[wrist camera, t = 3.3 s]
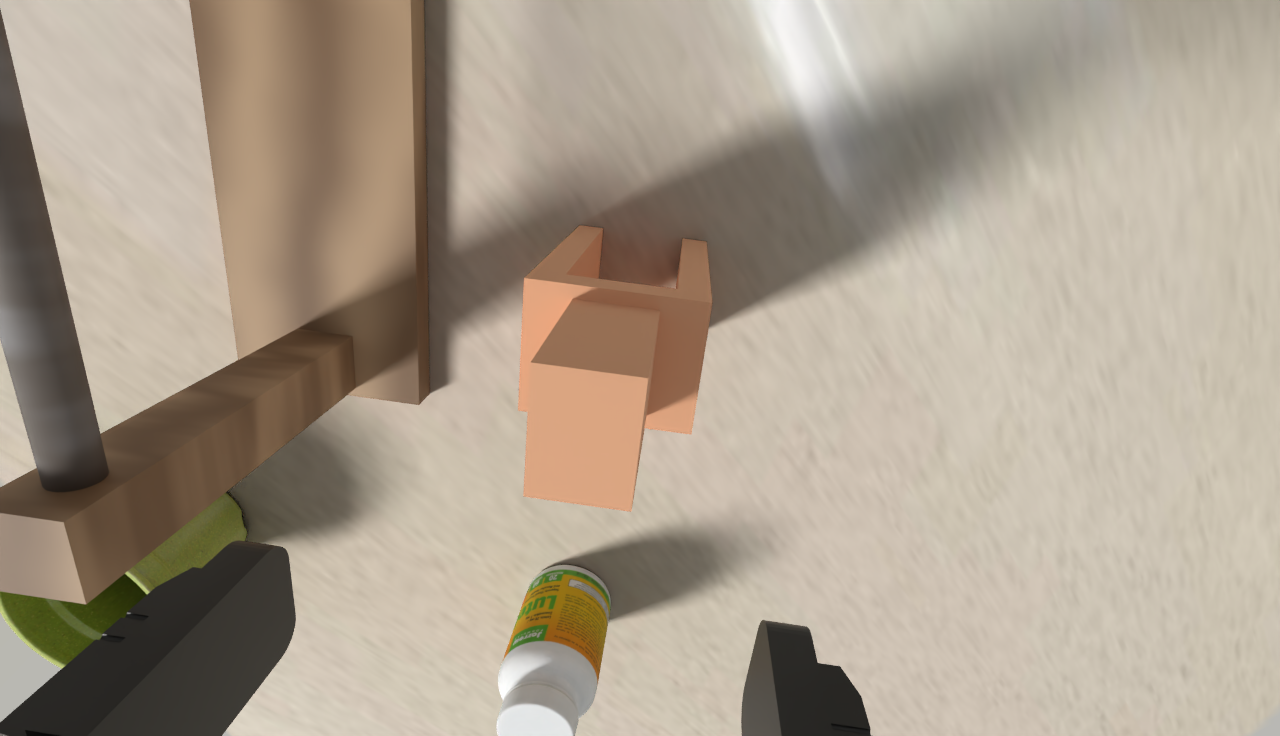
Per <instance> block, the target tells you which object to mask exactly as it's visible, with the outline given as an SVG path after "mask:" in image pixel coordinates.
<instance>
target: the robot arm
mask: <svg viewBox="0 0 1280 736" xmlns="http://www.w3.org/2000/svg"><path fill="white" fill-rule="evenodd" d="M295 621H296V615H295V606H294V598H293V589H292V581H291V572H290V564H289V556H288V553H287V551H286V549H285V548H283V547H280V546H274V545H267V544H260V543H253V542H247V541H240V540H238V541H233V542H231V543H229V544H228V545H227V546H225V547H224V548H223V549H222V550H221V551H220V552H219V553H218V554H217V555H216V556H214V557H213V558H212V559H211V560H210V561H209V562H208V563H207V564H206V565H205V566H203V567H202V568H197V567H192V568H190V569H189V570H187V571H185V572H183V573H181V574H179V575H177V576H175V577H174V578H172V579H170V580H168V581H166V582H164V583H162V584H160V585H159V586H157V587H155V588H154V589H153V590H152V591H151V592H150V593H148V594H147V595H146V596H145V597H144V598H143V599H142V600H140V601H139V602H138V603H137V604H136V605H135V606H134V607H132V608H131V609H130V610H129V611H128V612H127V615H126V617H125V618H120V619H119V620H117V621H116V622H115V623H114V624H113V625H112V626H111V627H109V628H108V629H107V630H106V631H105V632H104V633H103V634H102V637H101V639H100V640H94V641H93V642H92V643H91V644H90V645H89V646H88V647H86V648H85V649H84V650H83V651H82V652H81V653H80V654H78V655H77V656H76V657H75V658H74V659H73V660H71V661H70V662H69V663H68V664H67V665H66V666H65V667H63V668H62V669H61V670H60V671H59V672H58V673H57V674H55V675H54V676H53V677H52V678H51V679H50V680H49V681H48V682H46V683H45V684H44V685H43V686H42V687H40V688H39V689H38V690H37V691H36V692H35V693H34V694H32V695H31V696H30V697H29V698H28V699H27V700H26V701H24V702H23V703H22V704H21V705H20V706H19V707H18V708H16V709H15V710H14V711H13V712H12V713H11V714H9V715H8V716H7V717H6V718H5V719H4V720H3V721H2V722H0V736H222V735H223V733H224V732H225V731H226V729H227V728H228V727H229V725H230V724H231V723H232V722H233V720H234V719H235V718H236V716H237V715H238V714H239V712H240V711H241V710H242V708H243V707H244V706H245V705H246V703H247V702H248V701H249V699H250V698H251V697H252V695H253V694H254V693H255V692H256V690H257V689H258V688H259V686H260V685H261V684H262V682H263V681H264V680H265V678H266V677H267V676H268V675H269V673H270V672H271V671H272V669H273V668H274V667H275V665H276V664H277V663H278V662H279V660H280V659H281V658H282V656H283V655H284V653H285V651H286V650H287V648H288V646H289V643H290V641H291V639H292V635H293V632H294V628H295ZM741 723H742V736H871V735H870V726H869V722H868V719H867V715H866V712H865V708H864V705H863V701H862V698H861V696H860V694H859V693H858V691H857V690H856V688H855V687H854V686H853V684H852V683H851V681H850V680H849V679H848V677H847V676H846V674H845V673H844V671H843V670H842V669H841V667H840V666H833V665H827V664H820V663H817V658H816V654H815V649H814V645H813V640H812V636H811V632H810V630H809V628H808V627H805V626H799V625H792V624H785V623H778V622H772V621H765V620H762V621H761V623H760V625H759V628H758V632H757V636H756V641H755V645H754V649H753V653H752V657H751V661H750V666H749V670H748V674H747V678H746V682H745V687H744V693H743V701H742V719H741Z"/></svg>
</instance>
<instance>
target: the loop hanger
mask: <svg viewBox="0 0 1280 736" xmlns="http://www.w3.org/2000/svg"><path fill="white" fill-rule="evenodd" d="M602 237H603V228H598V227H590V226H582V225H579V226H578V227H577V228H576V229H575V230H574V231H573V232H572V233H571V234H570V235H569V236H568V237H567V238H566V239H565V240H564V241H562V242H561V243H560V244H559V245H558V246H557V247H556V248H555V249H554V250H553V251H552V252H551V253H550V254H549V255H548V256H547V257H546V258H545V259H544V260H542V261H541V262H540V263H539V264H538V265H537V266H536V267H535V268H534V269H533V270H532V271H531V272H530V273H529V274H528V275H527V276H526V277H525V278H524V290H523V313H522V335H521V357H520V380H519V402H518V411H525V412H528V418H527V438H526V457H525V477H524V497H531V498H538V499H545V500H553V501H560V502H567V503H574V504H581V505H588V506H595V507H602V508H609V509H616V510H623V511H630V512H631V510H632V504H633V498H634V491H635V485H636V479H637V473H638V466H639V460H640V454H641V447H642V441H643V435H644V429H645V428H648V429H655V430H662V431H670V432H677V433H684V434H691V433H692V427H693V420H694V414H695V408H696V402H697V396H698V390H699V383H700V377H701V371H702V365H703V359H704V352H705V346H706V340H707V334H708V328H709V322H710V315H711V309H712V303H713V302H712V292H711V282H710V272H709V261H708V251H707V241H699V240H691V239H684V238H683V239H682V247H681V254H680V261H679V268H678V276H677V283H676V289H674V288H666V287H659V286H651V285H643V284H636V283H628V282H620V281H613V280H605V279H599V271H600V260H601V248H602Z"/></svg>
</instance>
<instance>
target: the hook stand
mask: <svg viewBox="0 0 1280 736" xmlns="http://www.w3.org/2000/svg"><path fill="white" fill-rule="evenodd" d="M189 1H190V8H191V16H192V23H193V30H194V38H195V45H196V53H197V60H198V67H199V75H200V82H201V89H202V97H203V104H204V111H205V119H206V126H207V134H208V141H209V148H210V156H211V163H212V170H213V178H214V185H215V192H216V200H217V207H218V215H219V222H220V229H221V237H222V244H223V251H224V259H225V266H226V273H227V281H228V288H229V296H230V303H231V310H232V318H233V325H234V332H235V340H236V347H237V354H238V361H236V362H234V363H232V364H230V365H228V366H226V367H225V368H223V369H221V370H219V371H217V372H215V373H213V374H211V375H210V376H208V377H206V378H204V379H202V380H200V381H198V382H197V383H195V384H193V385H191V386H189V387H187V388H185V389H183V390H182V391H180V392H178V393H176V394H174V395H172V396H170V397H168V398H167V399H165V400H163V401H161V402H159V403H157V404H155V405H154V406H152V407H150V408H148V409H146V410H144V411H142V412H140V413H139V414H137V415H135V416H133V417H131V418H129V419H127V420H126V421H124V422H122V423H120V424H118V425H116V426H114V427H112V428H111V429H109V430H107V431H105V432H103V433H101V434H100V431H99V427H98V422H97V418H96V414H95V410H94V405H93V401H92V397H91V393H90V388H89V384H88V380H87V376H86V371H85V367H84V363H83V359H82V354H81V350H80V346H79V342H78V337H77V333H76V329H75V325H74V320H73V316H72V312H71V308H70V303H69V299H68V295H67V291H66V286H65V282H64V278H63V274H62V269H61V265H60V261H59V257H58V252H57V248H56V244H55V240H54V235H53V231H52V227H51V223H50V218H49V214H48V210H47V206H46V201H45V197H44V193H43V189H42V184H41V180H40V176H39V172H38V167H37V163H36V159H35V155H34V150H33V146H32V142H31V138H30V133H29V129H28V125H27V121H26V116H25V112H24V108H23V104H22V99H21V95H20V91H19V87H18V82H17V78H16V74H15V70H14V65H13V61H12V57H11V53H10V48H9V44H8V40H7V36H6V31H5V27H4V23H3V19H2V14H1V10H0V340H1V343H2V347H3V350H4V354H5V357H6V361H7V364H8V368H9V371H10V375H11V378H12V382H13V385H14V389H15V393H16V396H17V400H18V403H19V407H20V410H21V414H22V417H23V421H24V424H25V428H26V431H27V435H28V438H29V442H30V445H31V449H32V452H33V456H34V459H35V463H36V466H37V468H36V469H34V470H32V471H30V472H28V473H26V474H25V475H23V476H21V477H19V478H17V479H15V480H13V481H12V482H10V483H8V484H6V485H4V486H2V487H0V591H1V592H8V593H14V594H21V595H27V596H34V597H41V598H47V599H54V600H60V601H67V602H74V603H80V604H87V603H89V602H90V601H91V600H92V599H94V598H95V597H96V596H97V595H99V594H100V593H101V592H102V591H104V590H105V589H106V588H107V587H109V586H110V585H111V584H112V583H114V582H115V581H116V580H117V579H119V578H120V577H121V576H122V575H124V574H125V573H126V572H127V571H128V570H130V569H131V568H132V567H133V566H135V565H136V564H137V563H138V562H140V561H141V560H142V559H143V558H145V557H146V556H147V555H148V554H150V553H151V552H152V551H153V550H155V549H156V548H157V547H158V546H160V545H161V544H162V543H163V542H165V541H166V540H167V539H168V538H170V537H171V536H172V535H173V534H175V533H176V532H177V531H178V530H180V529H181V528H182V527H183V526H185V525H186V524H187V523H188V522H190V521H191V520H192V519H193V518H194V517H196V516H197V515H198V514H199V513H201V512H202V511H203V510H204V509H206V508H207V507H208V506H209V505H211V504H212V503H213V502H214V501H216V500H217V499H218V498H219V497H221V496H222V495H223V494H224V493H226V492H227V491H228V490H229V489H231V488H232V487H233V486H234V485H236V484H237V483H238V482H239V481H241V480H242V479H243V478H244V477H246V476H247V475H248V474H249V473H251V472H252V471H253V470H254V469H256V468H257V467H258V466H259V465H260V464H262V463H263V462H264V461H265V460H267V459H268V458H269V457H270V456H272V455H273V454H274V453H275V452H277V451H278V450H279V449H280V448H282V447H283V446H284V445H285V444H287V443H288V442H289V441H290V440H292V439H293V438H294V437H295V436H297V435H298V434H299V433H300V432H302V431H303V430H304V429H305V428H307V427H308V426H309V425H310V424H312V423H313V422H314V421H315V420H317V419H318V418H319V417H320V416H322V415H323V414H324V413H325V412H326V411H328V410H329V409H330V408H331V407H333V406H334V405H335V404H336V403H338V402H339V401H340V400H341V399H343V398H344V397H345V396H346V395H351V396H358V397H365V398H373V399H380V400H387V401H394V402H401V403H409V404H416V405H419V404H420V403H421V402H422V401H423V400H424V399H425V398H426V397H427V396H428V395H429V394H430V383H429V309H428V235H427V161H426V88H425V14H424V0H189Z"/></svg>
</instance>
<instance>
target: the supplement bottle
mask: <svg viewBox="0 0 1280 736" xmlns="http://www.w3.org/2000/svg"><path fill="white" fill-rule="evenodd" d="M610 608H611V599H610V594H609V591H608V589H607V587H606V586H605V584H604V583H603V582H602V581H601V579H599V578H598V577H597V576H596V575H595V574H593V573H592V572H590V571H588V570H586V569H583V568H581V567H577V566H572V565H558V566H553V567H550V568H547V569H545V570H543V571H542V572H540V573H539V574H538V575H537V576H536V577H535V578H534V579H533V581H532V582H531V584H530V586H529V589H528V591H527V593H526V596H525V599H524V602H523V604H522V607H521V610H520V613H519V616H518V619H517V622H516V624H515V627H514V630H513V633H512V636H511V639H510V642H509V644H508V647H507V650H506V653H505V656H504V659H503V661H502V664H501V668H500V671H499V676H498V686H499V691H500V694H501V697H502V699H503V703H502V706H501V709H500V712H499V716H498V719H497V733H498V736H575V733H576V728H577V725H578V718H580V717H581V716H582V715H584V714H585V713H586V712H587V710H588V709H589V708H590V706H591V705H592V703H593V700H594V698H595V694H596V689H597V685H598V679H599V673H600V667H601V661H602V655H603V649H604V643H605V637H606V632H607V626H608V621H609V615H610Z"/></svg>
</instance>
